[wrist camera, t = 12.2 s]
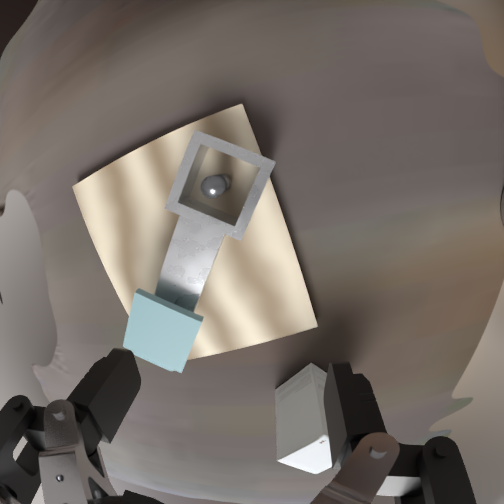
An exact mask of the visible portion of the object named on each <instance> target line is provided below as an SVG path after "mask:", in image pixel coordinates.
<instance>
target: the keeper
mask: <svg viewBox="0 0 504 504" xmlns="http://www.w3.org/2000/svg"><path fill="white" fill-rule="evenodd" d="M203 318H204V317H203V316H201V315H198V314H196V313H193V312H191V311H189V310H186V309H184V308H182V307H180V306H177V305H175V304H173V303H171V302H168V301H166V300H164V299H162V298H160V297H157V296H155V295H153V294H151V293H149V292H147V291H145V290H142V289H140V288H138V289H137V290H136V291H135V293H134V298H133V302H132V306H131V310H130V315H129V319H128V324H127V329H126V334H125V339H124V344H123V347H125V348H127V349H129V350H131V351H133V354H134V355H136V356H138V357H140V358H143V359H145V360H147V361H149V362H151V363H153V364H156V365H158V366H160V367H162V368H165V369H167V370H169V371H173V370H175V371H177V372H180V373H182V370H183V368H184V365H185V363H186V360H187V358H188V355H189V353H190V350H191V348H192V345H193V343H194V341H195V338H196V336H197V333H198V331H199V328H200V326H201V323H202V321H203Z"/></svg>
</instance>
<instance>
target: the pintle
mask: <svg viewBox="0 0 504 504" xmlns="http://www.w3.org/2000/svg"><path fill="white" fill-rule="evenodd" d="M231 186H232V179H231V177H230V176H229V175H228V174H224V173H222V174H217V175H212V176H208V177H206V178H205V179H204V180H203V181H202V183H201V192H202V194H203V195H204V196H205V197H207V198H216V197H218V196H220V195H221V194H223V193H224V192H226V191H227V190H229V189H230V188H231Z"/></svg>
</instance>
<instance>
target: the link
mask: <svg viewBox="0 0 504 504" xmlns="http://www.w3.org/2000/svg"><path fill="white" fill-rule="evenodd" d="M209 147H210V148H213V149H215V150H218V151H220V152H223V153H225V154H228V155H231V156H233V157H235V158H238V159H240V160H243V161H245V162H248V163H250V164H252V165H255V166H257V167H260V170H259V172H258V174H257V177H256V179H255V181H254V184H253V186H252V188H251V190H250V193H249V195H248V197H247V200H246V202H245V204H244V207H243V209H242V211H241V214H240V216H239V218H237V217H235V216H233V215H230V214H228V213H226V212H223V211H221V210H218V209H216V208H214V207H211V206H209V205H206V204H204V203H202V202H199V201H197V200H194V199H192V198H189V196H190V194H191V191H192V189H193V186H194V183H195V181H196V178H197V176H198V173H199V171H200V168H201V166H202V163H203V161H204V158H205V156H206V154H207V151H208V149H209ZM275 163H276V162H275V161H273V160H270V159H268V158H266V157H263V156H261V155H259V154H256V153H254V152H251V151H249V150H247V149H244V148H242V147H239V146H237V145H234V144H232V143H229V142H226V141H224V140H221V139H219V138H216V137H213V136H210V135H208V134H205V133H202V132H199V131H197V130H194V132H193V135H192V137H191V139H190V142H189V144H188V147H187V149H186V152H185V154H184V157H183V159H182V162H181V164H180V167H179V170H178V172H177V175H176V177H175V180H174V183H173V186H172V188H171V191H170V194H169V197H168V200H167V202H166V205H165V208H164V209H166V210H169V211H171V212H173V213H176V214H178V215H180V216H179V219H178V222H177V225H176V228H175V230H174V233H173V236H172V239H171V242H170V245H169V248H168V251H167V254H166V257H165V261H164V264H163V267H162V270H161V273H160V277H159V280H158V283H157V287H156V290H155V293H154V295H155V296H157V297H160V298H162V299H164V300H166V301H168V302H171V303H173V304H175V305H177V306H180V307H182V308H184V309H186V310H189V311H191V312H193V313H195V310H196V308H197V305H198V303H199V300H200V297H201V295H202V292H203V290H204V287H205V285H206V282H207V280H208V277H209V275H210V272H211V270H212V267H213V265H214V262H215V260H216V257H217V255H218V252H219V250H220V248H221V245H222V243H223V240H224V238H225V235H228V236H230V237H233V238H235V239H237V240H240V241H241V240H242V238H243V235H244V233H245V231H246V229H247V226H248V224H249V222H250V219H251V217H252V215H253V213H254V210H255V208H256V206H257V204H258V201H259V199H260V197H261V194H262V192H263V190H264V188H265V185H266V183H267V181H268V179H269V176H270V174H271V172H272V170H273V167H274V165H275Z"/></svg>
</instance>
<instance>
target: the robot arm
mask: <svg viewBox="0 0 504 504" xmlns="http://www.w3.org/2000/svg"><path fill="white" fill-rule="evenodd" d="M501 216H502V221H503V225H504V191H503V194H502V200H501ZM140 386H141V377H140V374H139V371H138V367H137V364H136V361H135V358H134V354H133V352H132V351H131V350H126V349H120V348H114V349H113V350H112V351H111V352H110V353H109V355H108V356H107V357H103V358H102V359H100V360H99V361H97V362H96V363H94V365H93V366H92V367H91V368H90V370H89V372H87V374H86V375H85V376H84V378H83V379H82V380H81V381H80V382H79V384H78V385H77V386H76V388H75V389H74V390H73V391H72V393H71V394H70V395H69V397H68V398H67V399H66V400H63V399H60V400H55V401H53V402H51V403H50V404H48V405H47V407H40V406H33V405H32V404H31V402H30V400H29V399H28V398H27V397H26V396H23V395H17V396H14V397H12V398H11V399H10V400H9V401H8V402H7V403H6V404H5V405H4V407H3V408H2V409H1V411H0V504H31V503H32V500H33V498H34V496H35V494H36V492H37V490H38V488H39V486H40V484H41V483H42V489H43V496H44V501H45V504H164V503H162V502H160V501H158V500H156V499H154V498H151V497H147V496H144V495H140V494H137V493H134V492H131V491H128V490H125V492H124V494H123V496H118V495H117V493H116V492H115V490H114V489H113V487H112V485H111V483H110V481H109V478H108V475H107V472H106V468H105V465H104V462H103V458H102V455H101V451H100V448H99V446H98V444H99V442H100V440H101V441H104V442H107V443H111V441H112V440H113V438H114V436H115V434H116V432H117V430H118V428H119V426H120V425H121V423H122V421H123V419H124V417H125V415H126V413H127V412H128V410H129V408H130V406H131V404H132V402H133V401H134V399H135V397H136V395H137V393H138V391H139V389H140ZM323 400H324V409H325V416H326V423H327V430H328V437H329V445H330V453H331V461H332V469H340V471H339V472H338V473H337V475H336V476H335V477H334V478H333V480H332V481H331V482H330V483H329V484H328V485H327V486H325V487H324V488H323V489H322V490H321V491H320V493H319V494H318V495H317V496H316V497H315V498H314V499H313V501H312V502H311V503H310V504H371V502H372V501H373V499H374V497H375V496H376V495H384V496H394V498H395V504H476V500H475V497H474V493H473V490H472V487H471V484H470V480H469V478H468V474H467V472H466V468H465V465H464V463H463V460H462V457H461V454H460V452H459V449H458V447H457V445H456V443H455V442H454V441H453V440H451V439H450V438H448V437H444V436H438V437H434V438H432V439H430V440H429V441H427V442H426V444H425V445H406V444H401V443H398V441H397V440H396V439H395V438H394V437H393V436H391V435H389V434H388V433H387V431H386V429H385V426H384V422H383V419H382V416H381V413H380V410H379V407H378V404H377V402H376V398H375V396H374V394H373V390H372V387H371V384H370V382H369V381H368V380H367V379H366V378H365V376H364V375H363V374H362V373H361V374H353V372H352V369H351V366H350V363H349V362H332V363H329V367H328V372H327V377H326V382H325V387H324V396H323ZM22 436H24V437H25V439H26V440H27V441H28V442H27V444H26V445H25V447H24V448H23V450H22V452H21V453H20V455H19V457H18V458H17V460H16V461H15V460H14V458H13V451H14V449H15V447H16V446H17V444H18V443H19V441H20V439H21V438H22Z"/></svg>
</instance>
